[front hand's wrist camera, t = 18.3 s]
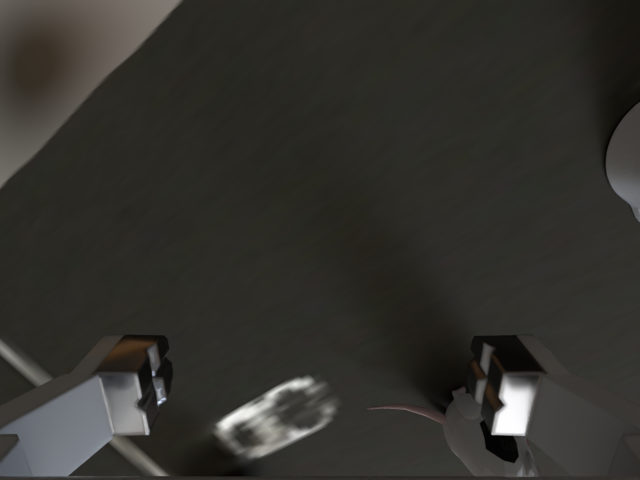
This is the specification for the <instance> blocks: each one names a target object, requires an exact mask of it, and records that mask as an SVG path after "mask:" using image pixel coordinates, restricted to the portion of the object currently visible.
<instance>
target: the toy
mask: <svg viewBox="0 0 640 480" xmlns="http://www.w3.org/2000/svg"><path fill="white" fill-rule="evenodd" d="M465 392H466V389H465V387H461V388H460V389H458V390H454V391H452V394H453V397H454V400H453V401H452V402H451V403H450V405H449V406H448V407H447V410H446V413H445V415H444V414H441V413H438V412H435V411H433V410H430V409H427V408H424V407H419V406H414V405H409V404H388V405H381V406H376V407H370V408H368V409H379V408H393V409H405V410H408V411H411V412H415V413H418V414H421V415H424V416H426V417H429V418H431V419H433V420H435V421H437V422H440V423H442V426H443V429H444V434H445V438H446V441H447V443H448V445H449V447H450V448H451V450H452V451H453V452H454V453H455V454H456V455H457V456H458V457H459V458H460V459H461V460H462V462H463V463H464V464H465V465H466V466H467V468H468V469H469V470H470V471H471V473H472V474H473V475H474V476H534V474H535V476H541V473H540V470H539V469H538V467H537V466H536V465H535V463H534V460H533V457H532V454H531V451H530V448H529V444H528V441H527V439H526V436H516V435H491V433H490V431H489V429H488V427H487V425H486V423H485V421H484V419H483V417H482V415H481V408H482V405H480V404H479V403H477V402H476V401H475V400H474V399H473V397H472V395H471V394H468V393H465Z"/></svg>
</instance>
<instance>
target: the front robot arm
mask: <svg viewBox="0 0 640 480" xmlns="http://www.w3.org/2000/svg"><path fill="white" fill-rule="evenodd" d="M606 173H607V177H608V180H609V183H610V185H611V186H612V188H613V190H614V191H615V192H616V193H617V194H618V195H619V196H620V197H621V198H623V199H624V200H625V201H626V202H628V203H629V204H630V206H631V208H632V210H633V213H634V215H635V217H636V219H637V220H638V221H639V222H640V102H639V103H638V104H636V105H635V106H634V107H633V108H632V109H631V110H630V111H629V112H628V113H627V114H626V115H625V117H624V118H623V119H622V120H621V122H620V123H619V125H618V126H617V128H616V130H615V131H614V133H613V135H612V138H611V140H610V143H609V146H608V149H607V154H606ZM168 351H169V344H168V340H167V338H166V337H165V336H164V335H106V336H103V337H102V339H101V340H100V341H99V342H98V343H97V344H96V345H95V346H94V348H93V349H92V350H91V351H90V352H89V353H88V354H87V355H86V356H85V358H84V359H83V360H82V361H81V362H80V363H79V364H78V365H77V366H76V368H75V369H74V370H73V371H72V372H71V373H70V374H63V375H61V376H59V377H57V378H55V379H53V380H51V381H49V382H47V383H45V384H43V385H41V386H39V387H37V388H35V389H33V390H31V391H29V392H27V393H25V394H23V395H21V396H19V397H17V398H15V399H13V400H11V401H9V402H7V403H5V404H3V405H1V406H0V480H640V406H639V405H637V404H635V403H633V402H631V401H629V400H627V399H625V398H623V397H621V396H619V395H617V394H615V393H613V392H611V391H609V390H607V389H605V388H603V387H601V386H599V385H597V384H595V383H593V382H591V381H589V380H587V379H585V378H583V377H581V376H579V375H577V374H570V373H569V372H568V371H567V370H566V369H565V368H564V366H563V365H562V364H561V363H560V362H559V361H558V360H557V359H556V358H555V356H554V355H553V354H552V353H551V352H550V351H549V350H548V349H547V348H546V346H545V345H544V344H543V343H542V342H541V341H540V340H539V339H538V337H536V336H534V335H532V334H525V335H501V336H474V338H473V340H472V344H471V351H472V353H473V354H474V356H475V357H474V358H473V359H472V360H471V361H470V362H469V363H468V369H467V381H468V387H469V390H470V393H471V395H472V397H473V399H474V400H475V401H476V402H477V403H479V404H480V405H482V408H481V415H482V417H483V419H484V421H485V423H486V425H487V427H488V429H489V431H490V433H491V435H516V436H527V438H528V439H529V440H530V441H531V442H533V443H534V444H535V445H536V446H537V447H539V448H540V449H541V450H542V451H543V452H545V453H546V454H547V455H548V456H549V457H551V458H552V459H553V460H554V461H555V462H556V463H558V464H559V465H560V466H561V467H562V468H564V469H565V470H566V471H567V472H568V473H570V474H571V475H572V476H68V475H69V474H71V473H72V472H73V471H74V470H75V469H77V468H78V467H79V466H80V465H81V464H82V463H84V462H85V461H86V460H87V459H88V458H90V457H91V456H92V455H93V454H94V453H96V452H97V451H98V450H99V449H100V448H102V447H103V446H104V445H105V444H106V443H108V442H109V441H110V440H111V439H112V438H113V436H123V435H149V433H150V431H151V429H152V427H153V425H154V423H155V421H156V419H157V417H158V415H159V408H158V405H160V404H161V403H163V402H164V401H165V400H166V399H167V397H168V395H169V393H170V390H171V386H172V381H173V368H172V363H171V362H170V361H169V360H168V359H167V358H166V357H165V356H166V354H167V353H168Z"/></svg>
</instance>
